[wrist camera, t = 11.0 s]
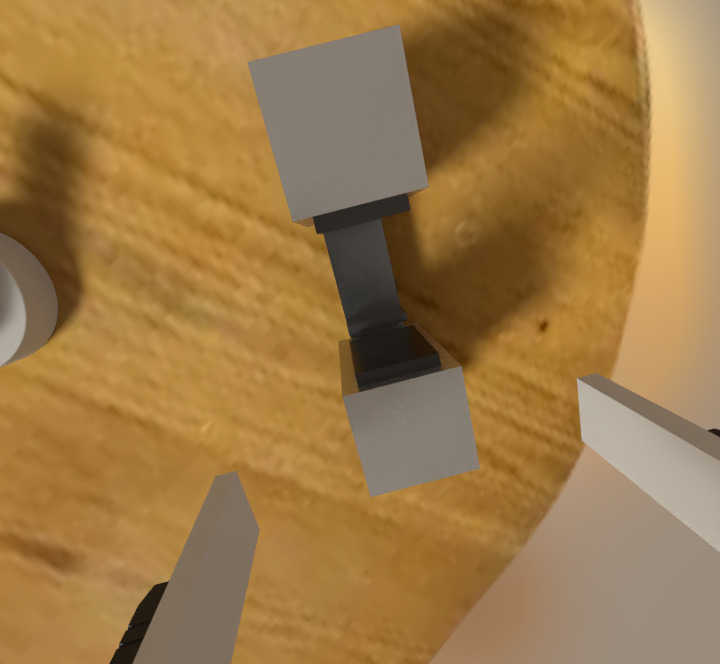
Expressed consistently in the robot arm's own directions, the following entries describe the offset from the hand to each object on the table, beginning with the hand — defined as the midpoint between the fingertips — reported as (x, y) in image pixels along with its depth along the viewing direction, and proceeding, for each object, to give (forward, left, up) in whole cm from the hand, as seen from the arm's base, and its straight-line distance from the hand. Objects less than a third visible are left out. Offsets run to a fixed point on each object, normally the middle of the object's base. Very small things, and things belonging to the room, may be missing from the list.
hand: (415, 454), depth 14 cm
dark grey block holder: (-6, 0, -12) cm, 14 cm away
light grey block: (0, 0, -10) cm, 10 cm away
